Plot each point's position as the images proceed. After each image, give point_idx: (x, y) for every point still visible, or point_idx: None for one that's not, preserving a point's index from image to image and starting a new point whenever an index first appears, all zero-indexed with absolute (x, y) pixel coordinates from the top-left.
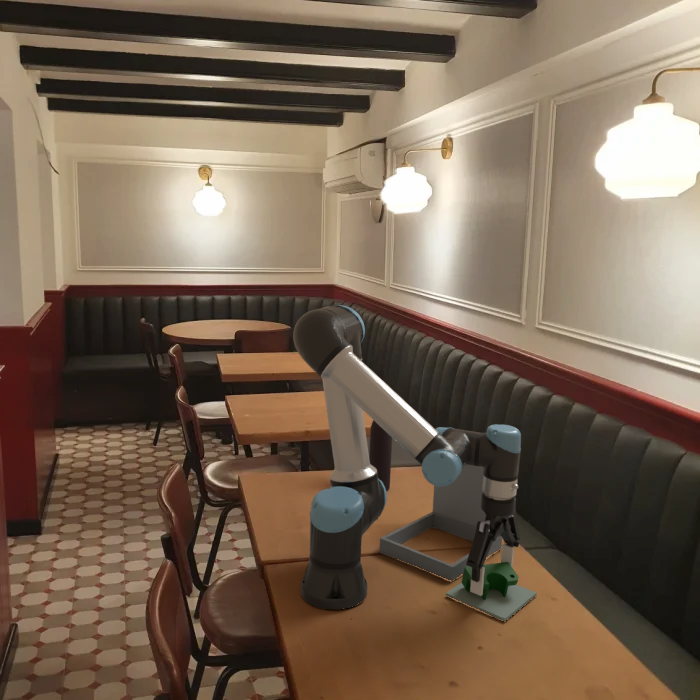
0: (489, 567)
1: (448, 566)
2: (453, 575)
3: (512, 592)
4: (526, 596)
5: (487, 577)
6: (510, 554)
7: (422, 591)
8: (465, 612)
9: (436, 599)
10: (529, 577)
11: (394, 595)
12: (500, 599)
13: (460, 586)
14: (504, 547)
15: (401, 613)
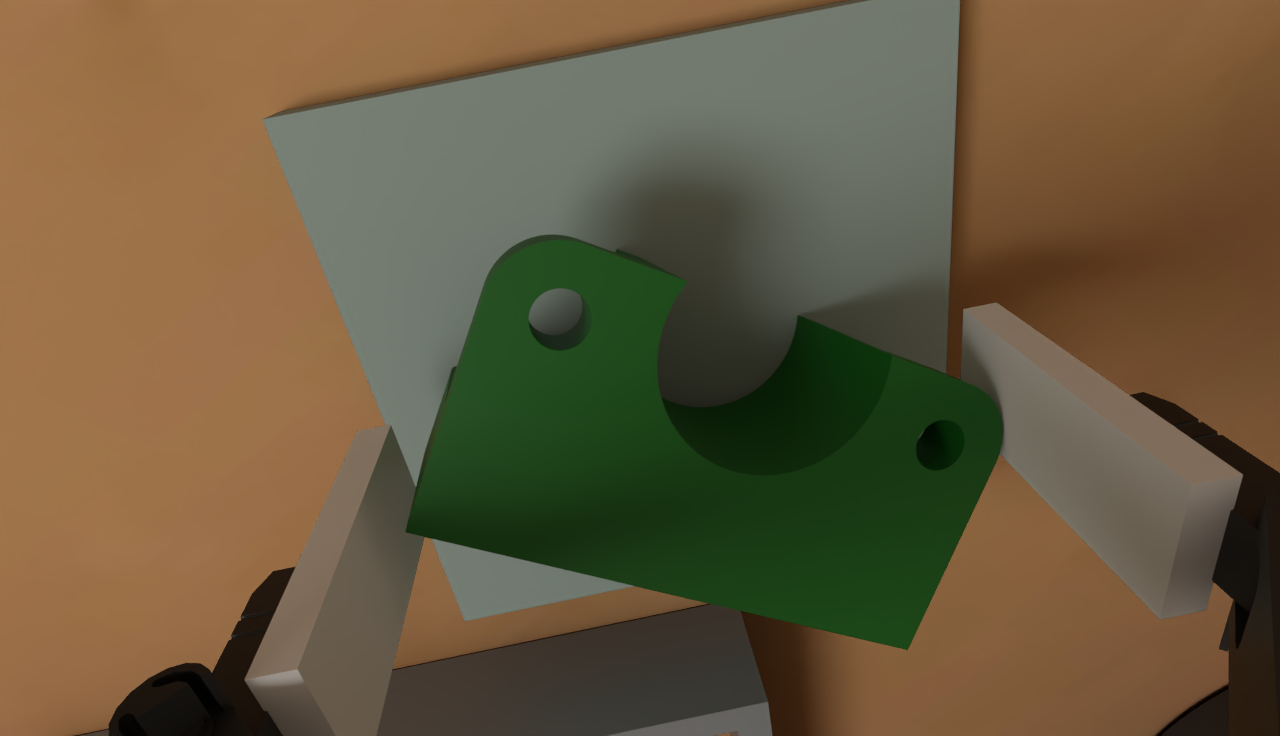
0: (692, 547)
1: (770, 721)
2: (733, 642)
3: None
4: (428, 134)
5: (772, 455)
6: (338, 603)
7: (966, 608)
8: (1009, 300)
9: (991, 511)
10: (80, 382)
11: (1114, 642)
12: (695, 245)
13: None
14: (359, 732)
15: None
